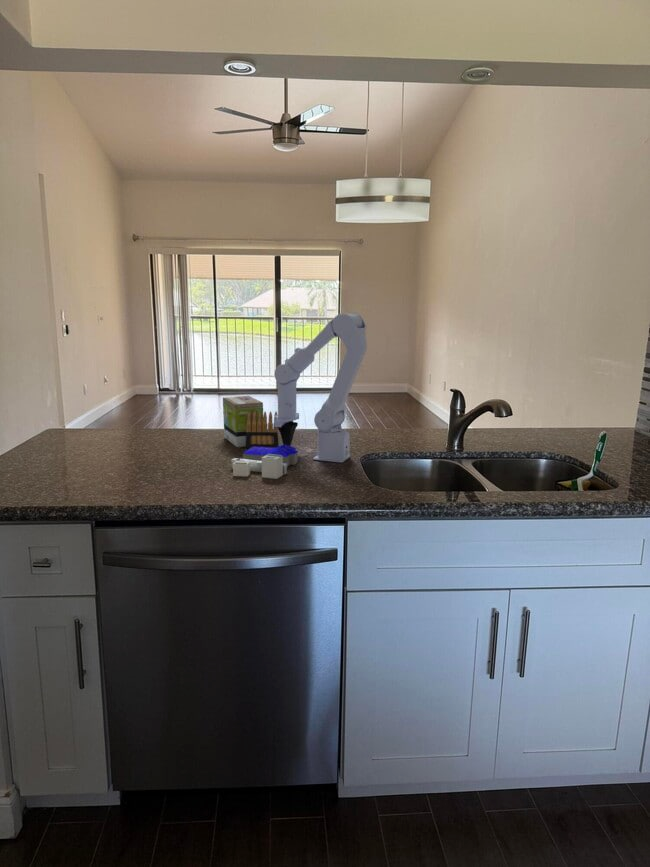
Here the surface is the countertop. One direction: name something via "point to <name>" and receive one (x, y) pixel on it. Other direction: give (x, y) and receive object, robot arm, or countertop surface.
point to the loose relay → (241, 468)
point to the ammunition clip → (261, 431)
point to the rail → (257, 465)
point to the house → (284, 450)
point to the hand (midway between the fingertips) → (287, 445)
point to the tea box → (239, 417)
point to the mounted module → (272, 466)
